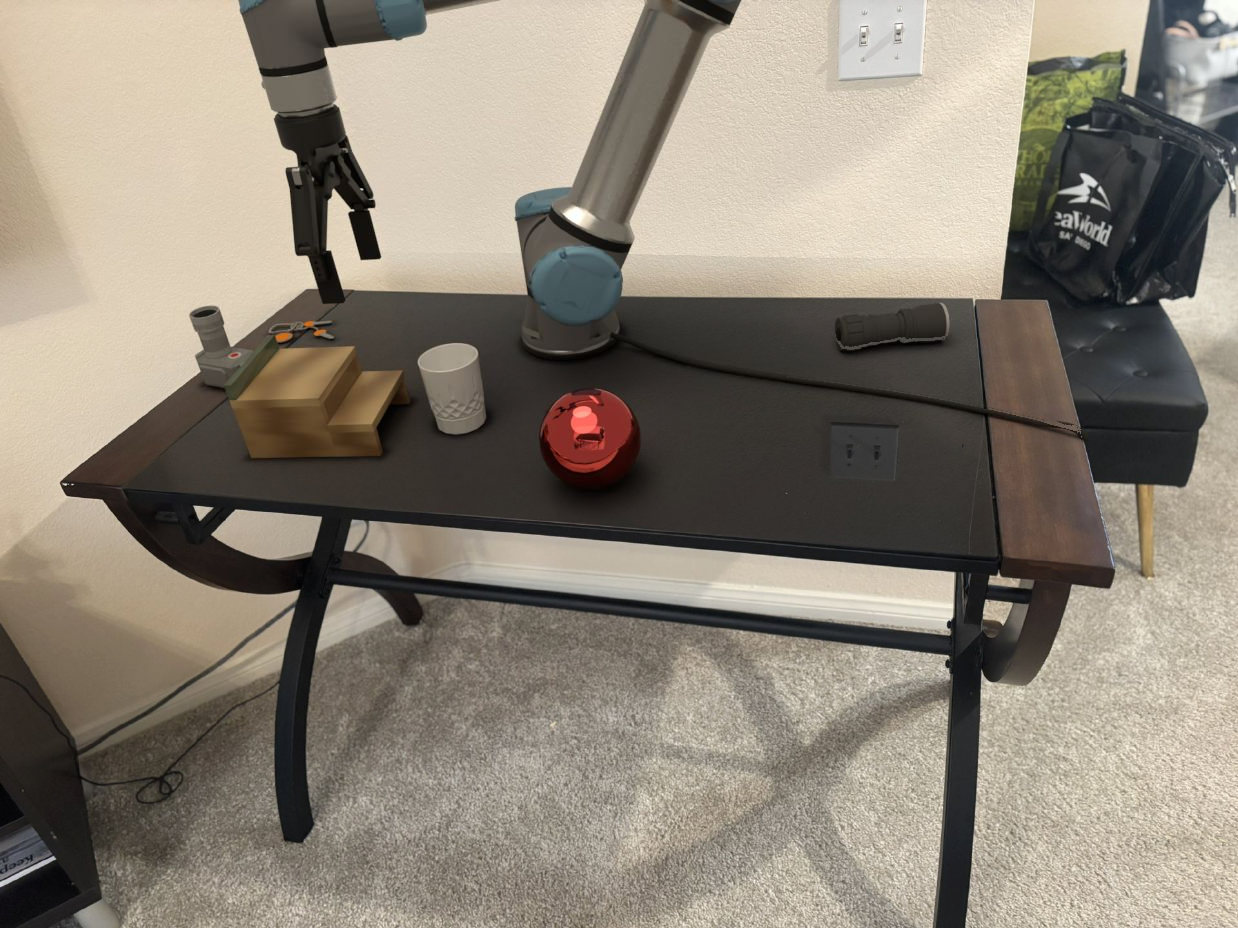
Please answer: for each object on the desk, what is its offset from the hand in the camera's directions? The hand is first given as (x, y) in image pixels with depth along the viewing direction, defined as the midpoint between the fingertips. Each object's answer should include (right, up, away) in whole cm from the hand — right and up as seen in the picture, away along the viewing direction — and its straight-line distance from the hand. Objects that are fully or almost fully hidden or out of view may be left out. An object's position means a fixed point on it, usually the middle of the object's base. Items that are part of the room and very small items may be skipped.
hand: (353, 279), depth 117 cm
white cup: (+13, -18, +7) cm, 23 cm away
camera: (-22, -12, +21) cm, 33 cm away
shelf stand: (-5, -19, +8) cm, 21 cm away
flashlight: (+74, -7, +15) cm, 75 cm away
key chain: (-18, -2, +35) cm, 39 cm away
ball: (+31, -26, -7) cm, 41 cm away
